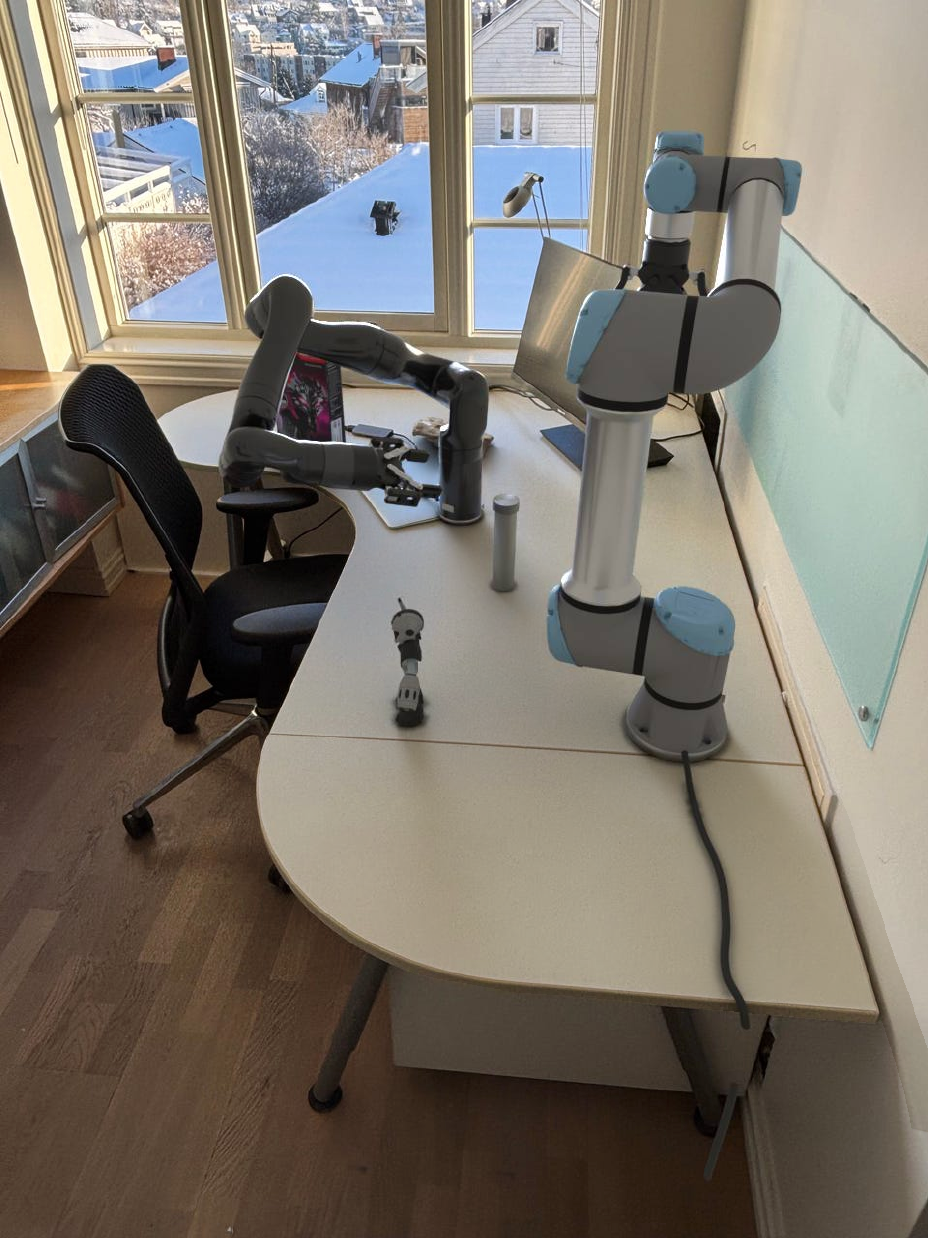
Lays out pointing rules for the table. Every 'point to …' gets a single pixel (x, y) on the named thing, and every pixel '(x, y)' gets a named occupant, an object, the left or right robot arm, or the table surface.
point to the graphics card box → (313, 402)
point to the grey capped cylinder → (504, 551)
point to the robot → (409, 665)
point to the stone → (431, 431)
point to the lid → (506, 504)
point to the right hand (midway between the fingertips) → (652, 364)
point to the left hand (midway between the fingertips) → (434, 474)
